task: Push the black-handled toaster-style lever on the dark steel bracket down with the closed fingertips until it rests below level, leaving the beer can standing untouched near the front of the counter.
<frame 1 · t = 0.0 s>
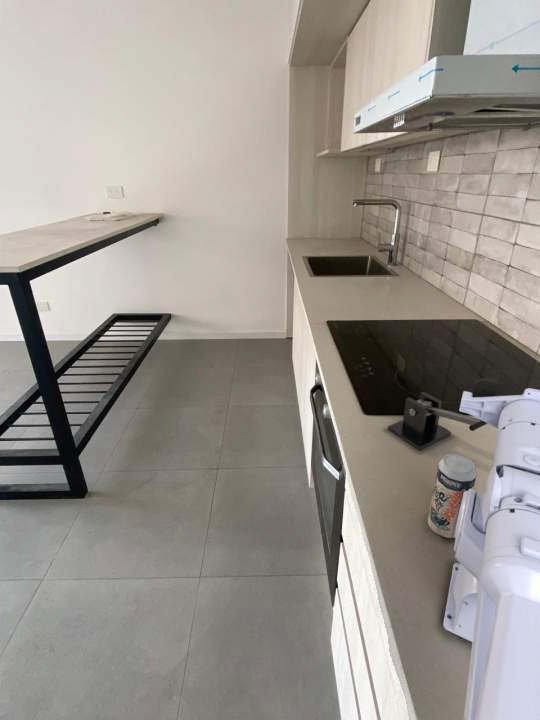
hand: (527, 380, 53), 22 cm above the worktop, tool horizontal, fingers open, 7 cm apart
bracket: (418, 433, 79), on the worktop
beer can: (444, 527, 59), on the worktop
lever: (447, 414, 72), point 7 cm above the worktop, hinge at 15.0°
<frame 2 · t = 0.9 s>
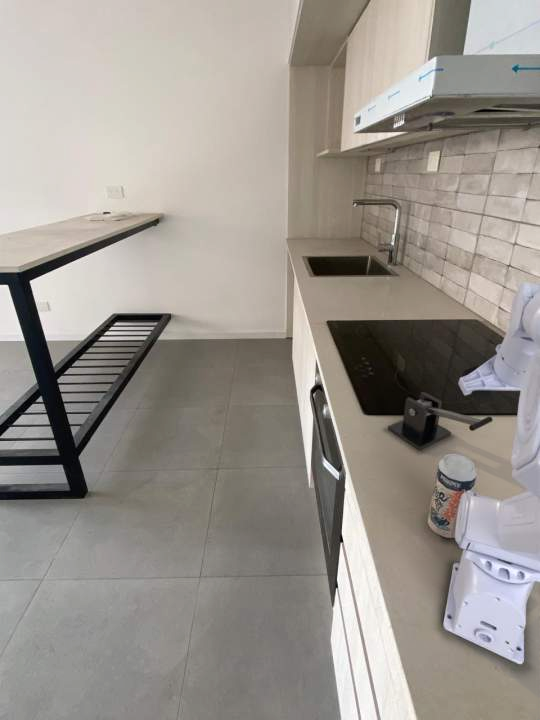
hand: (502, 393, 61), 17 cm above the worktop, tool tilted 40°, fingers open, 7 cm apart
nothing on the worktop moved.
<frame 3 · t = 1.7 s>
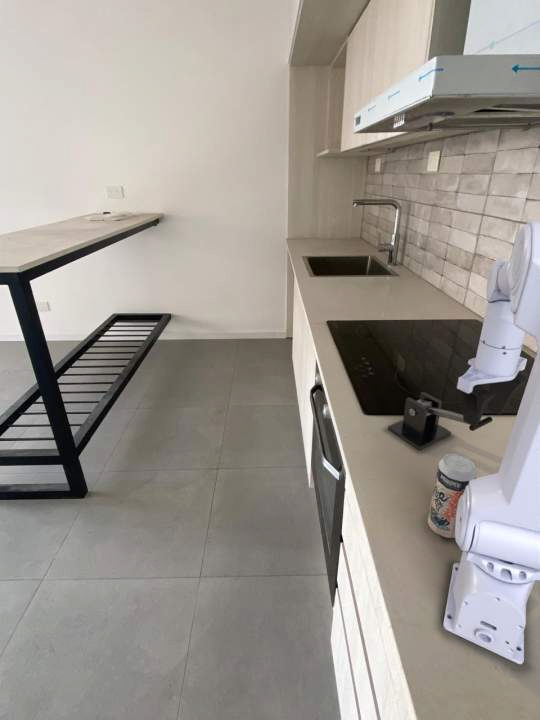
hand: (482, 417, 66), 10 cm above the worktop, tool pointing down, fingers open, 6 cm apart
nothing on the worktop moved.
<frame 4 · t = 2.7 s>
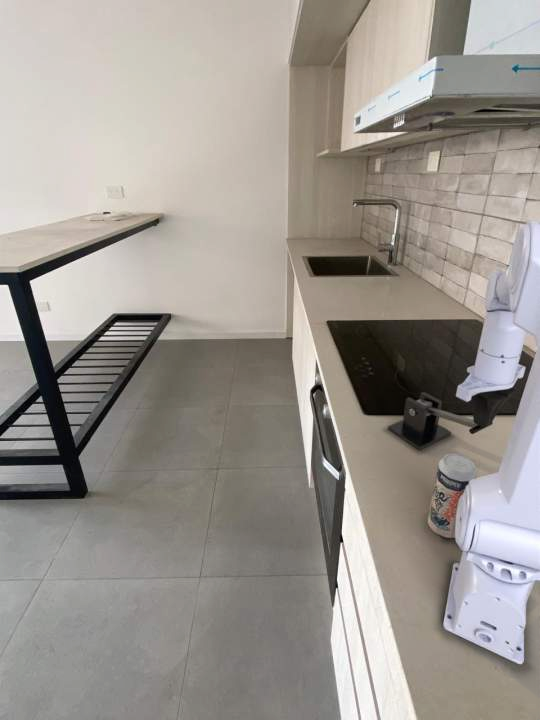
hand: (481, 424, 66), 9 cm above the worktop, tool pointing down, fingers closed, pressing on lever
lever: (447, 415, 72), point 7 cm above the worktop, hinge at 12.3°, touching gripper
everything else where it was.
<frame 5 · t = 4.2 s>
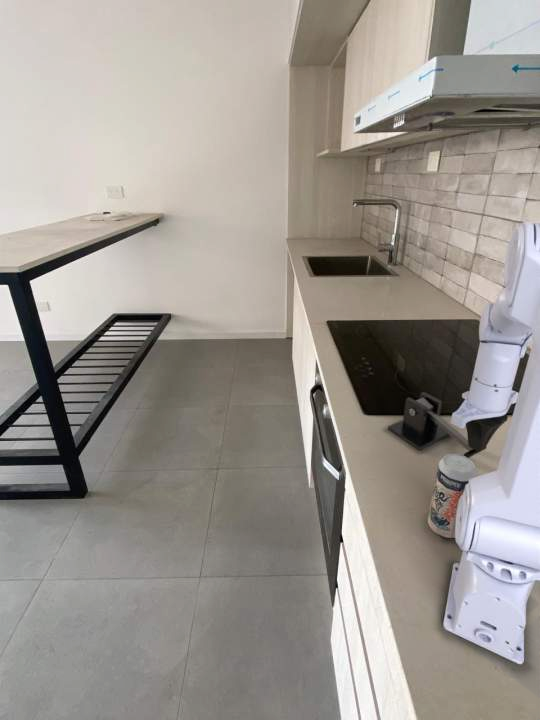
hand: (475, 447, 68), 4 cm above the worktop, tool pointing down, fingers closed, pressing on lever
lever: (445, 426, 73), point 5 cm above the worktop, hinge at -12.3°, touching gripper
everything else where it was.
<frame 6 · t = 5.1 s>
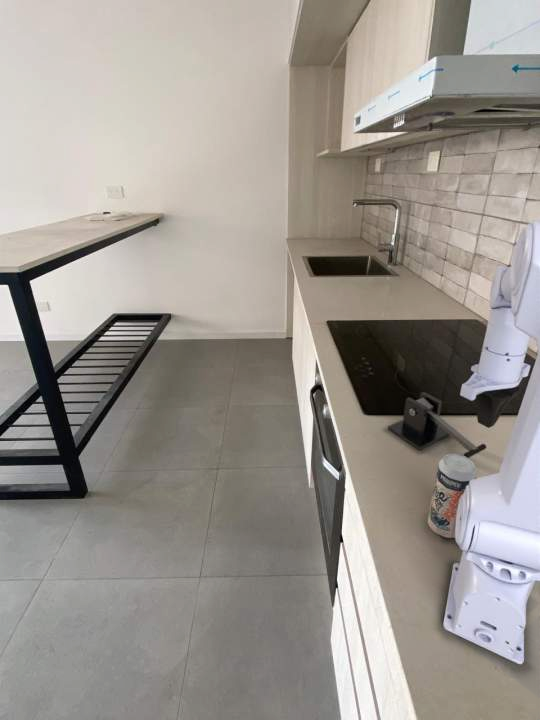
hand: (485, 423, 65), 10 cm above the worktop, tool pointing down, fingers closed
lever: (445, 426, 73), point 5 cm above the worktop, hinge at -12.3°
everything else where it was.
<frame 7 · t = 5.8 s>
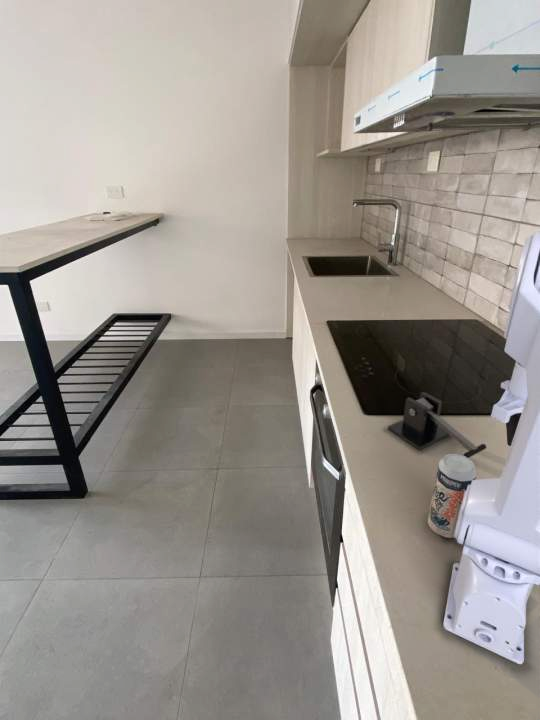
hand: (516, 446, 59), 10 cm above the worktop, tool pointing down, fingers closed
nothing on the worktop moved.
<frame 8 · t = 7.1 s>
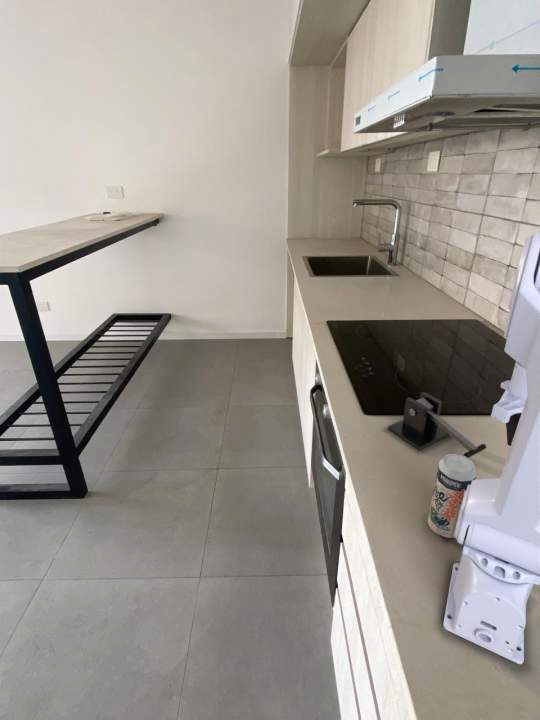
hand: (516, 446, 59), 10 cm above the worktop, tool pointing down, fingers closed
nothing on the worktop moved.
at the end: lever at -12° (first picture: +15°); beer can moved 0.2 cm from its start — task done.
